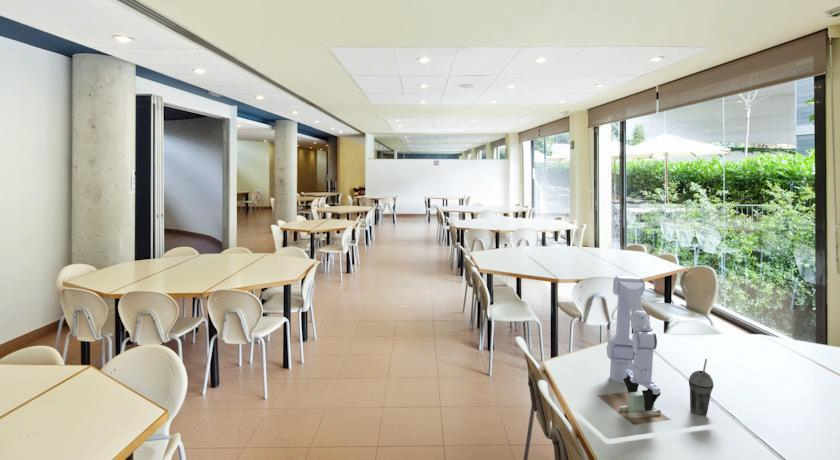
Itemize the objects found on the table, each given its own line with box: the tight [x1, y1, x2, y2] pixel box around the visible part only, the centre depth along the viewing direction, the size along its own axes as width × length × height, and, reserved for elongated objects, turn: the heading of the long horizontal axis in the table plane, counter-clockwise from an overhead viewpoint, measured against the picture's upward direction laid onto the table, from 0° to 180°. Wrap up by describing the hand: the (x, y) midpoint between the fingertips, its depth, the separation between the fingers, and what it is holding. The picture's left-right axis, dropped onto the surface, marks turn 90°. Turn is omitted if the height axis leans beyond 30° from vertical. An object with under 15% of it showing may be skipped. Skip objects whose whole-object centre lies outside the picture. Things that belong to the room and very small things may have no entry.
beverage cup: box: [688, 358, 714, 417], centre depth 154 cm, size 7×7×20 cm
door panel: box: [628, 390, 655, 413], centre depth 154 cm, size 8×2×7 cm, turn 103°
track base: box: [596, 391, 671, 426], centre depth 158 cm, size 14×20×3 cm
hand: (640, 404), depth 154 cm, fingers open, 7 cm apart
